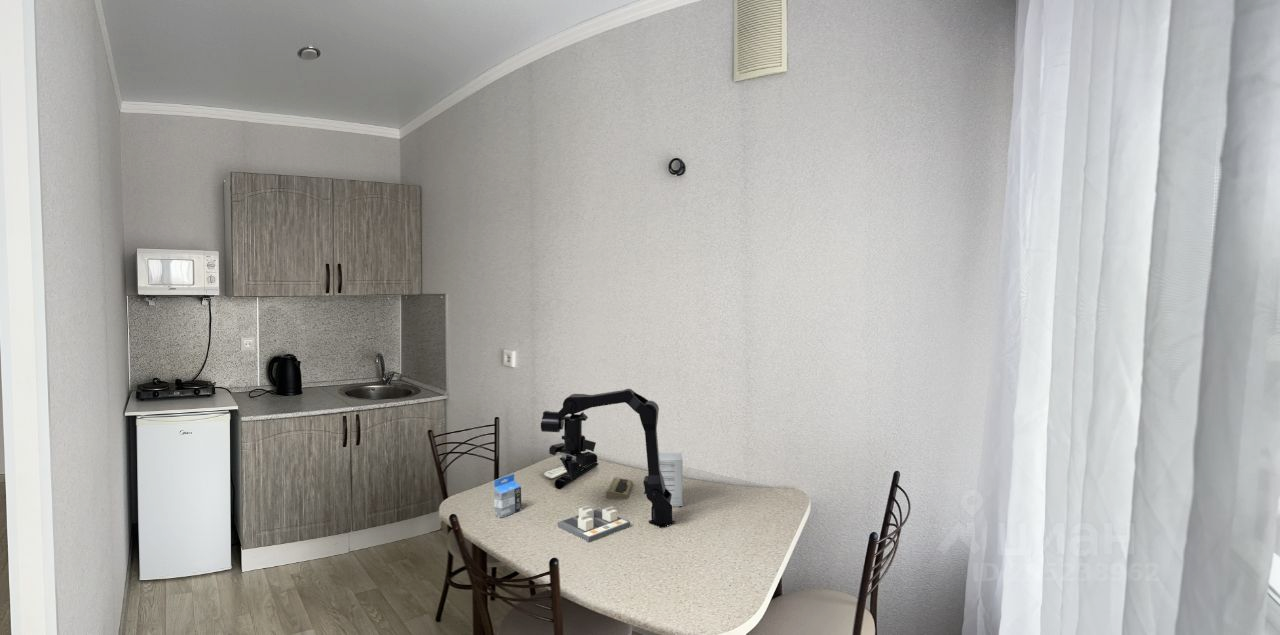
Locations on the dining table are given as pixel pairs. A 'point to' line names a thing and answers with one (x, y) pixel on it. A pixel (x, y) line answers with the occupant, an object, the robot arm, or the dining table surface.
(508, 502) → the label tape box
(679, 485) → the small drawer cabinet
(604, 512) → the slider
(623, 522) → the switch panel
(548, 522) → the dining table surface
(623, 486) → the computer
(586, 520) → the slider
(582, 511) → the slider middle
